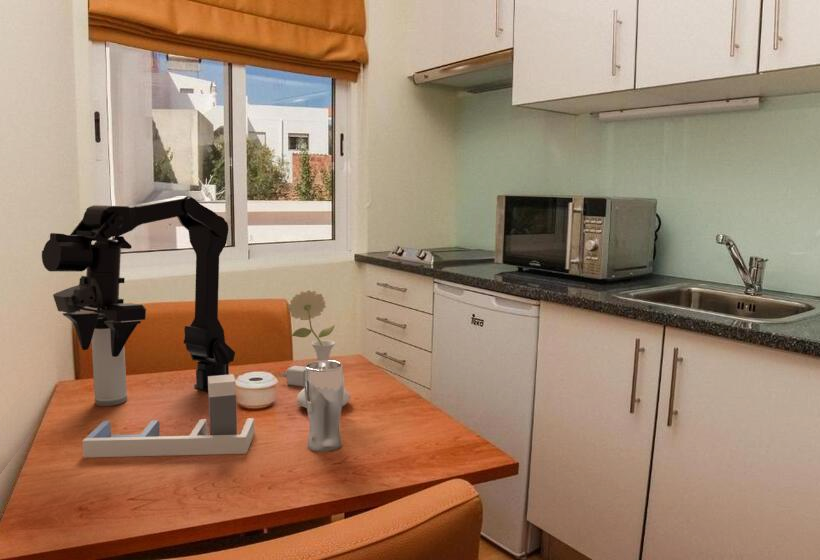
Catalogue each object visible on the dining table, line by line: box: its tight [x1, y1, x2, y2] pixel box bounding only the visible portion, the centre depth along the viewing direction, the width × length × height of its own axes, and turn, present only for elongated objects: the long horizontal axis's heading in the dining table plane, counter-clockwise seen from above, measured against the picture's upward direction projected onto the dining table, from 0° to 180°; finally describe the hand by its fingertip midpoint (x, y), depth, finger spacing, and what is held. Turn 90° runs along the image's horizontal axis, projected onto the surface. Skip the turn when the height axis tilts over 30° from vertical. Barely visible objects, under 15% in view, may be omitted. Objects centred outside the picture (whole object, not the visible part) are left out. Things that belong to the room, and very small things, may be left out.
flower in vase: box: [287, 290, 351, 409], centre depth 133 cm, size 13×11×25 cm
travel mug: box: [90, 312, 128, 407], centre depth 134 cm, size 6×7×20 cm
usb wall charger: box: [279, 365, 306, 388], centre depth 150 cm, size 4×7×4 cm, turn 69°
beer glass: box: [303, 359, 345, 453], centre depth 113 cm, size 7×7×15 cm
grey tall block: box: [207, 373, 238, 435], centre depth 114 cm, size 4×4×12 cm
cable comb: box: [82, 417, 256, 459], centre depth 113 cm, size 27×9×3 cm, turn 95°
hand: (99, 353), depth 121 cm, fingers open, 9 cm apart
